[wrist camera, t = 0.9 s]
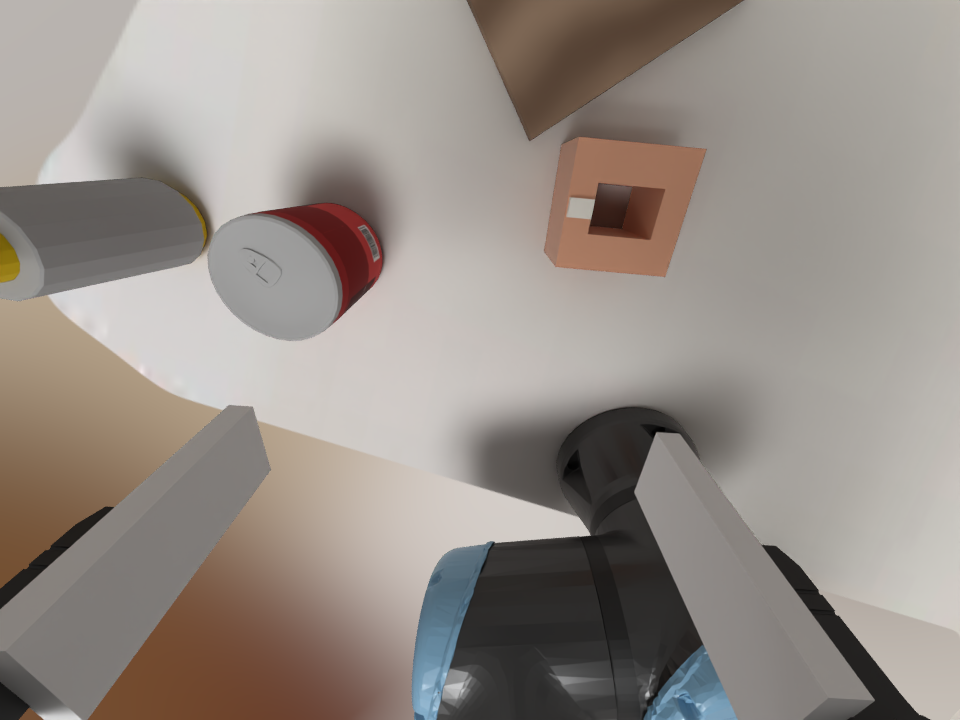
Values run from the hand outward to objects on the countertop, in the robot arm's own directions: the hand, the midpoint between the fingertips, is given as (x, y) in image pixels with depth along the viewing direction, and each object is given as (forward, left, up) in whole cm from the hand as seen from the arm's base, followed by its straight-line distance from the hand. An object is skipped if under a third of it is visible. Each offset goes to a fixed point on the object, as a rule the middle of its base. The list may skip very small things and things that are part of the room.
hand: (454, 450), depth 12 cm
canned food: (+8, +9, -23) cm, 26 cm away
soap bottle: (+17, +20, -23) cm, 35 cm away
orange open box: (0, -12, -23) cm, 26 cm away
